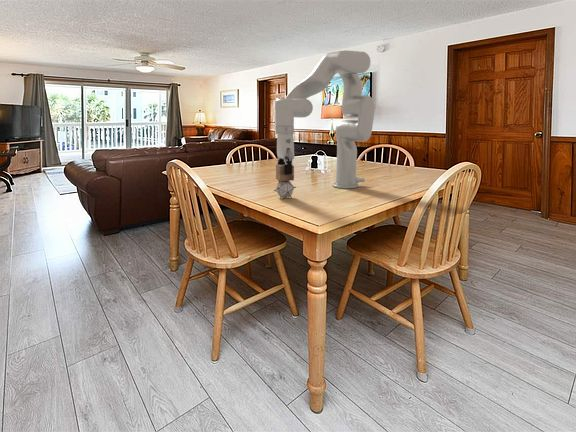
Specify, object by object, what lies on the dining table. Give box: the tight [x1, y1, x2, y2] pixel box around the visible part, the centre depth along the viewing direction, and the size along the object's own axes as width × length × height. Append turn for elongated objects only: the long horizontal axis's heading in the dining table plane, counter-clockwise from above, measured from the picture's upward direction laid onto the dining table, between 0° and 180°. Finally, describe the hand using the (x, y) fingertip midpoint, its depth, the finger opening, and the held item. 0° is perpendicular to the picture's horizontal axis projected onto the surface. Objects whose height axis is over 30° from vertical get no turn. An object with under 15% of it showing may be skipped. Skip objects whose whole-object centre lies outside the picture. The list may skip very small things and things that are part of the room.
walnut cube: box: [275, 164, 295, 182], centre depth 150 cm, size 6×6×6 cm
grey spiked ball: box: [273, 180, 297, 200], centre depth 152 cm, size 9×8×10 cm
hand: (284, 172), depth 150 cm, fingers open, 9 cm apart
